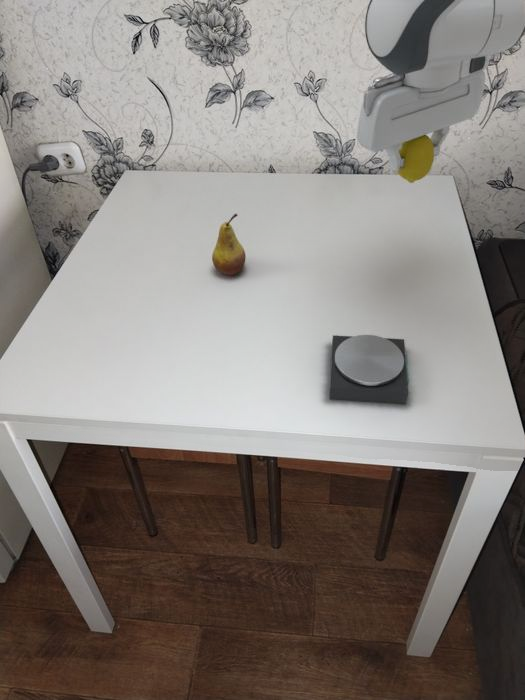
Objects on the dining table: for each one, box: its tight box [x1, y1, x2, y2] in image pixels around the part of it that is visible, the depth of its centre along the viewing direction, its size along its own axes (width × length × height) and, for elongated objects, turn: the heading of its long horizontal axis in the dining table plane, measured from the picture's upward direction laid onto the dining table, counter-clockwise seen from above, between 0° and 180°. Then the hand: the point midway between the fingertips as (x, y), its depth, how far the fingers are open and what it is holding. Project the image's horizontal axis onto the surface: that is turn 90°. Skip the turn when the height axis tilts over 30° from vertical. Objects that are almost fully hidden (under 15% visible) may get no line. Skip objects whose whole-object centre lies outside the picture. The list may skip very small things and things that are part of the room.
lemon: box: [396, 134, 435, 184], centre depth 87 cm, size 6×6×8 cm
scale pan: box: [335, 334, 404, 386], centre depth 79 cm, size 9×9×1 cm
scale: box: [329, 334, 410, 406], centre depth 81 cm, size 10×10×3 cm
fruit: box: [211, 213, 247, 276], centre depth 96 cm, size 6×6×12 cm
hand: (414, 162), depth 87 cm, fingers closed on lemon, 5 cm apart
